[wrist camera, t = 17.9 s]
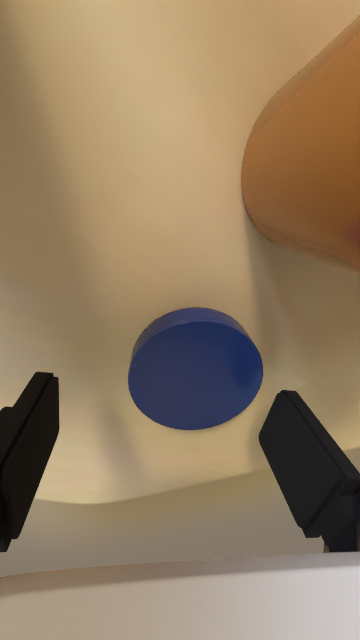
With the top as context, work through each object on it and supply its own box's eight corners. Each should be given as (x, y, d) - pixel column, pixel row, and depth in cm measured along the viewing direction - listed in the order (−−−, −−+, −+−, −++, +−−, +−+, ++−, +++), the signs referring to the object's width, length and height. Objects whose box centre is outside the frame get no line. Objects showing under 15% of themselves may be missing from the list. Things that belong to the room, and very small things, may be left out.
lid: (270, 317, 13) (284, 331, 12) (234, 412, 16) (242, 434, 14) (139, 297, 12) (136, 310, 11) (125, 403, 15) (122, 425, 13)
